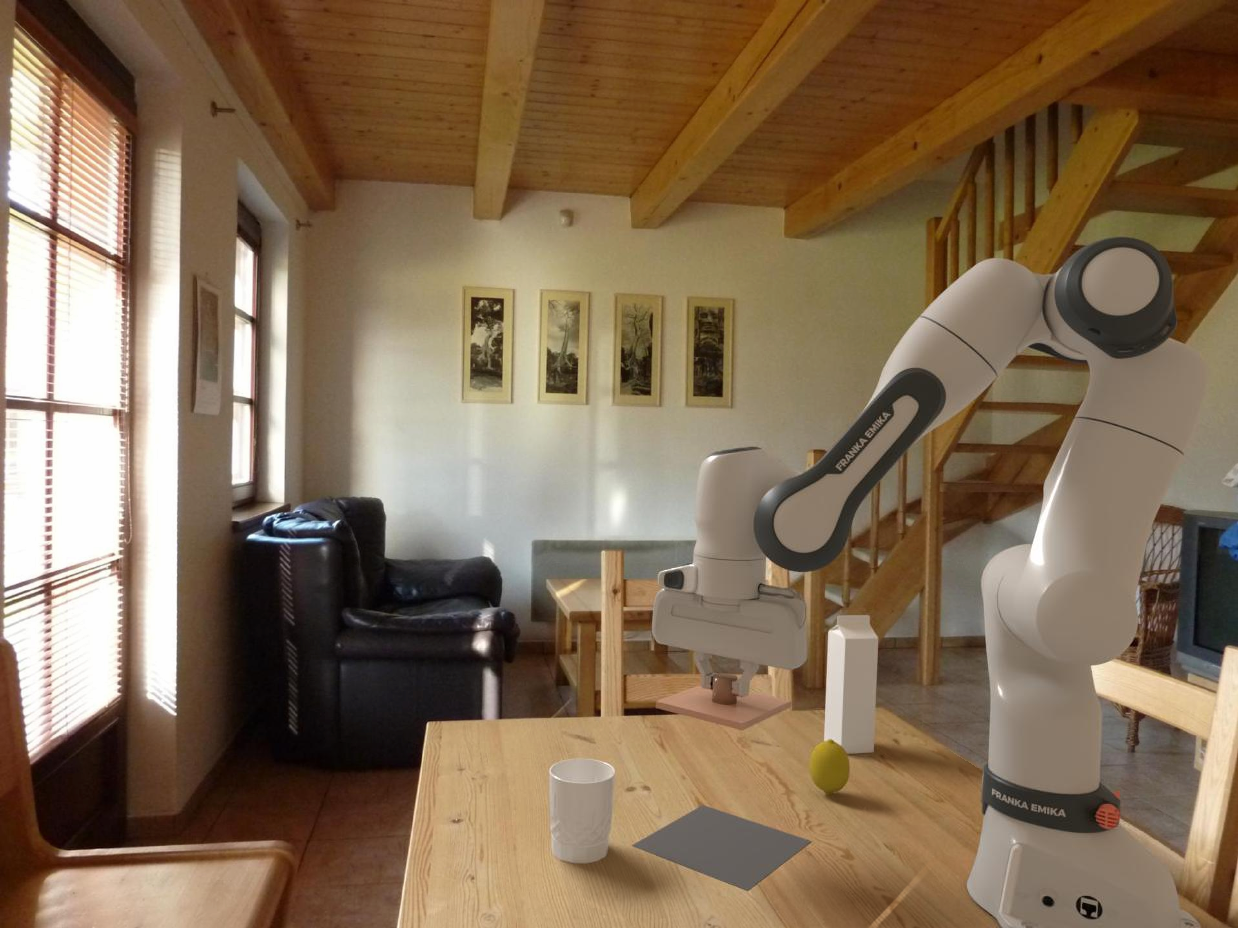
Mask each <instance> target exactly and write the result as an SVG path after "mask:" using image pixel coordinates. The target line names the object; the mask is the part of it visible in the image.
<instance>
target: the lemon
mask: <svg viewBox="0 0 1238 928" xmlns="http://www.w3.org/2000/svg"><path fill="white" fill-rule="evenodd" d="M850 769H851V767H850V760H849V754H847V753H846V751H845V750H844V748H843V747H842V746H841V745H839V744H838V743H836V742H834V741H833V740H832V739H828V740H827V741H825V742H824V741H822V742H820V743H819V744H817V745H816V746H815V748H814V749H813V751H812V753H811V756H810V759H809V773H810V777H811V780H812V782H813V784H814V785H815V786H816V787H817V788H818V789H819V790H821V791H823V792H824V793H825V794H826V796H832V795H833V794H834V793H836V792H839V791H841V790H842V789H843V788H844V787H845V786H846V785H847V783H848V781H849V778H850V771H851V770H850Z"/></svg>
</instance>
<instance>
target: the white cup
mask: <svg viewBox="0 0 1238 928" xmlns="http://www.w3.org/2000/svg"><path fill="white" fill-rule="evenodd" d="M548 771H549V773H548V774H549V817H550V818H549V823H550V824H549V825H550V827H549V828H550V833H551V835H550V836H551V837H550V839H551V841H550V843H551V844H550V845H551V848H550V849H551V853H552V854H553V855H552V856H554V857H555V858H557V859H559V860H560V861H562V862H567V863H571V864H589V863H594V862H598V861H600V860H602V859H604V858H605V857H607V854H608V852H609V843H610V833H611V828H612V817H613V808H614V797H615V796H614V793H615V785H616V784H615V783H616V781H615V780H616V768H615V767H614V766H613V765H611V764H609V763H607V762H605V761H602V760H599V759H593V758H570V759H564V760H560V761H558V762H555V763H554V764H552V765H550V767H549V770H548Z"/></svg>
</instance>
